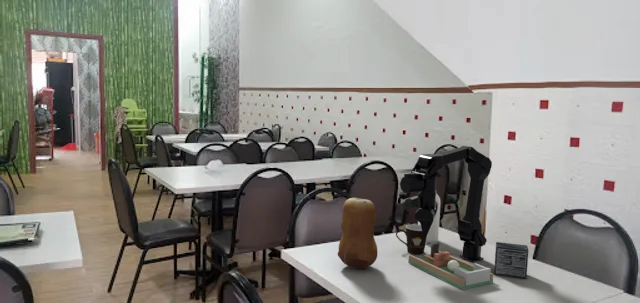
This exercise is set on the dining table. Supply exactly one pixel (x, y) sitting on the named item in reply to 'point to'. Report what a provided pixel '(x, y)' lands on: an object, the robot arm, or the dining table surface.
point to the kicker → (437, 256)
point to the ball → (452, 265)
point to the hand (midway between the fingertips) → (426, 233)
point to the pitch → (456, 272)
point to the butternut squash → (358, 234)
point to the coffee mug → (414, 239)
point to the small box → (511, 260)
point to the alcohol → (434, 225)
